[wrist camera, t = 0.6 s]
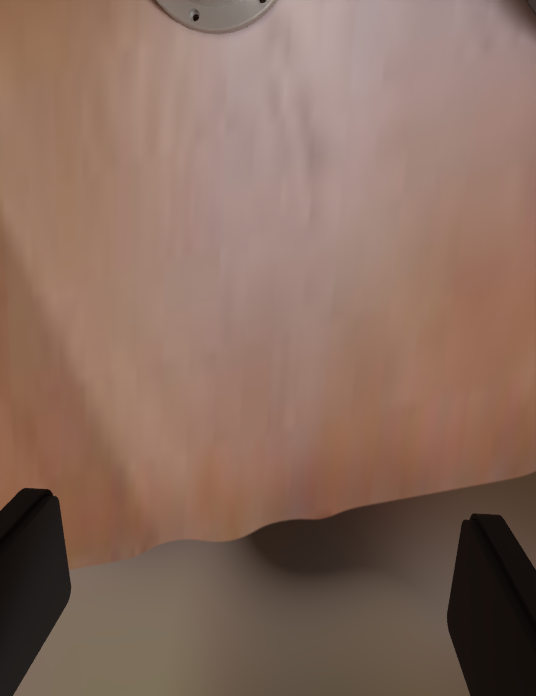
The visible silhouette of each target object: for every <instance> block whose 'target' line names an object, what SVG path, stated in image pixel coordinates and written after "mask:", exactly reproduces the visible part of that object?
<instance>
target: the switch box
mask: <svg viewBox="0 0 536 696" xmlns="http://www.w3.org/2000/svg"><path fill="white" fill-rule="evenodd" d="M526 1H527V2H528V4H529V5H530V7H531V8H532V10H533V11H534V13H535V14H536V0H526Z"/></svg>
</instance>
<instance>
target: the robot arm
mask: <svg viewBox="0 0 536 696" xmlns="http://www.w3.org/2000/svg"><path fill="white" fill-rule="evenodd" d="M156 1H157V2H158V3H159V5H160V6H161V7H162V8H163V9H164V11H165V12H166V13H168V14H169V15H170V16H171V17H172V18H174V19H175V20H176V21H177V22H179V23H181V24H182V25H184V26H186V27H188V28H190V29H192V30H196V31H199V32H202V33H209V34H224V33H231V32H235V31H238V30H241V29H243V28H246V27H248V26H250V25H251V24H253V23H254V22H256V21H257V20H259V19H261V18H262V17H263V16H264V15H265V14H266V13H267V12H268V11H269V10H270V9H271V8H272V7H273V6H274V4H275V3H276V1H277V0H266V2H264V3H260V0H156ZM196 16H198V17H199V19H198V20H197V21H194V17H196ZM70 593H71V583H70V576H69V568H68V561H67V554H66V547H65V540H64V533H63V526H62V519H61V512H60V505H59V500H58V498H57V497H56V496H53V494H52V492H51V491H50V490H48V489H34V488H24V489H22V490H21V491H19V492H18V493H17V494H16V496H15V497H14V498H13V499H12V500H11V501H10V502H9V503H8V504H7V505H6V506H5V507H4V508H3V509H2V510H1V511H0V696H13V695H14V693H15V691H16V690H17V688H18V686H19V684H20V683H21V681H22V679H23V678H24V676H25V674H26V673H27V671H28V669H29V667H30V666H31V664H32V663H33V661H34V659H35V657H36V656H37V654H38V652H39V651H40V649H41V647H42V646H43V644H44V642H45V641H46V639H47V637H48V635H49V634H50V632H51V630H52V629H53V627H54V625H55V623H56V622H57V620H58V618H59V617H60V615H61V613H62V612H63V610H64V608H65V607H66V605H67V603H68V600H69V597H70ZM447 623H448V629H449V633H450V636H451V639H452V642H453V645H454V648H455V651H456V654H457V657H458V660H459V663H460V666H461V669H462V672H463V675H464V678H465V681H466V683H467V687H468V690H469V692H470V696H536V570H535V568H534V567H533V565H532V563H531V562H530V560H529V559H528V557H527V555H526V554H525V552H524V551H523V549H522V547H521V546H520V544H519V543H518V541H517V539H516V538H515V536H514V535H513V533H512V531H511V530H510V528H509V527H508V525H507V524H506V522H505V520H504V519H503V518H502V517H501V516H500V515H491V514H472V515H471V517H470V520H464V521H463V522H462V526H461V533H460V538H459V544H458V551H457V556H456V563H455V569H454V575H453V581H452V587H451V593H450V600H449V605H448V612H447Z"/></svg>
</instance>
